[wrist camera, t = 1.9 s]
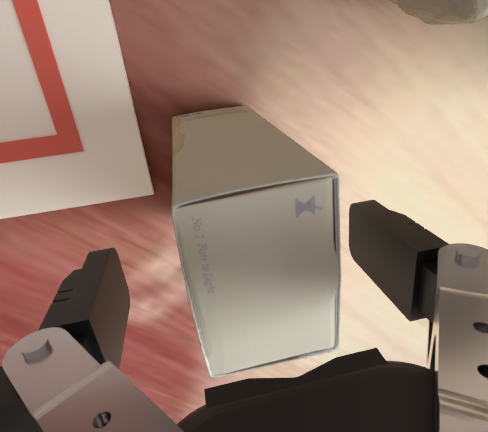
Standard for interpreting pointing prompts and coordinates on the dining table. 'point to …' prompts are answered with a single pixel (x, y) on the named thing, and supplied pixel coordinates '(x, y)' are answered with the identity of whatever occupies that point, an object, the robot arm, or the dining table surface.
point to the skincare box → (255, 240)
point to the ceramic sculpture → (445, 10)
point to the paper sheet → (65, 109)
